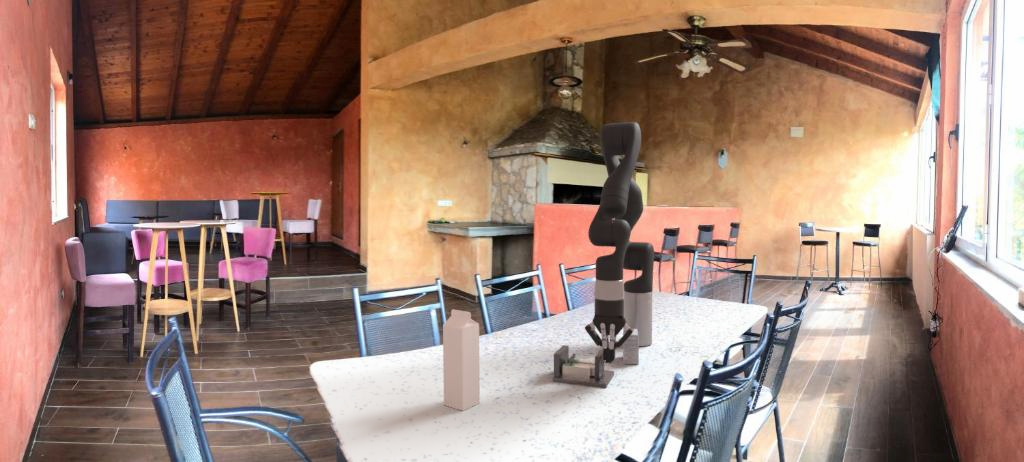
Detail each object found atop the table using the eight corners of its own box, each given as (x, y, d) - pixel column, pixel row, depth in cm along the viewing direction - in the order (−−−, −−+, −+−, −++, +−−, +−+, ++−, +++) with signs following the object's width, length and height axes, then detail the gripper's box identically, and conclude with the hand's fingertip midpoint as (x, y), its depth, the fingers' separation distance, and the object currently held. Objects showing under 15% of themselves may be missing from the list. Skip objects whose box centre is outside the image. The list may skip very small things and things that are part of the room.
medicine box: (638, 365, 154) (639, 335, 153) (622, 364, 154) (623, 334, 154) (637, 357, 161) (638, 328, 161) (622, 356, 162) (623, 327, 162)
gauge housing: (564, 368, 150) (564, 344, 150) (614, 374, 145) (614, 349, 145) (552, 381, 140) (552, 354, 140) (605, 388, 135) (606, 360, 134)
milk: (460, 398, 129) (460, 306, 128) (480, 403, 125) (479, 309, 124) (443, 405, 124) (442, 311, 123) (462, 411, 120) (462, 314, 119)
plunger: (570, 367, 147) (570, 347, 147) (604, 371, 144) (604, 350, 143) (564, 374, 141) (564, 353, 141) (599, 378, 138) (599, 357, 138)
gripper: (637, 295, 140) (636, 360, 141) (587, 292, 145) (587, 355, 146) (632, 300, 133) (632, 369, 134) (580, 297, 138) (580, 363, 139)
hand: (608, 362), depth 140 cm, fingers closed
